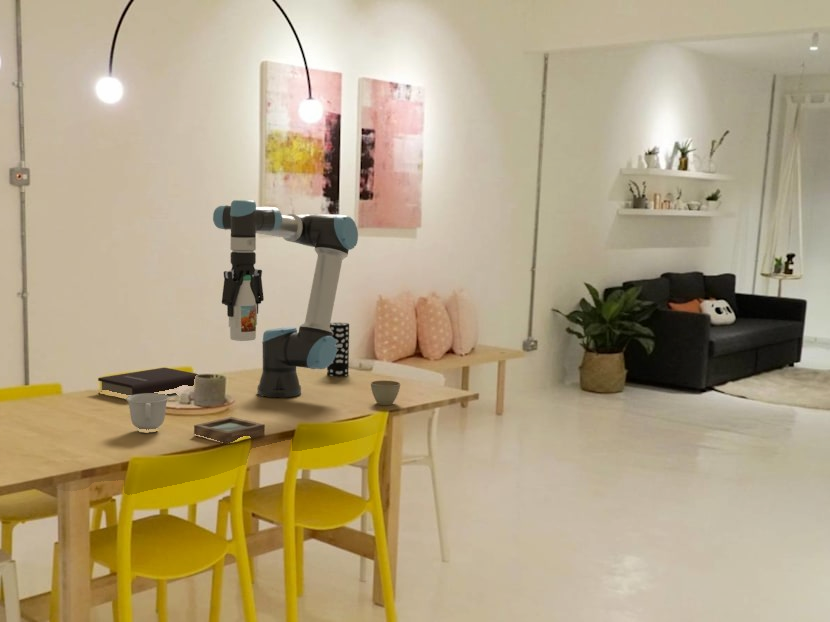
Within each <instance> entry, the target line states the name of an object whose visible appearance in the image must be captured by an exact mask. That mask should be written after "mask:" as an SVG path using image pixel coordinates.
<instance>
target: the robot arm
mask: <svg viewBox="0 0 830 622" xmlns="http://www.w3.org/2000/svg"><path fill="white" fill-rule="evenodd" d="M212 214H213V216H212V221H213V224H214V226H215V227H217V229H220V230H225V231H226V230H227V231H228V230H230V251H231V252H230V264H231V269H230V270H228V271H226V270H225V271H223V279H224V280H223V286H222V287H223V289H222V297H221V298H222V299H221V304H222V305H224V306H226V307H227V317H228V328H230V327H232V328H237V306H234V305H235V302H236V299H237V295H238V292H239V289H240V286H241V285H242V283H243V277H244V276H245V275H250V276H251V282H250V287H251V290H252V292H253V294H254V297H255V302H256V326H257V325H258V314H259V305H261V304H262V302H263V301H264V291H263V289H264V288H263V281H262V275H263V270H262V269H257V268H255V265H256V262H257V259H256V257H257V256H256V255H257V254H256V252H254V251H256V248H257V247H256V246H257V245H256V242H257V239H256V235H257V234H258V235H265V236H271V237H279V238H282V239H283V240H284V241H287V242H290V243H295V244H299V245H302V246H306V247H312V248H314V252H315V253H316V254H317V259H316V264H315V268H314V274H313V278H312V279H313V280H312V286H311V289H310V294H309V299H308V303H307V309H306V315H305V320H304V323H302V324H300V325H299V327H298V328H299V329H298V330H297V327H294V326H293V327H292V326H291V327H289V326H288V327H277V328H271V329H270V328H269V329H267V330H265V331H264V332H263V334H262V335H263V336H262V341H261V343H262V373H261V375H260V379H259V384H258V385H257V393H258V394H260V395H263V396H262V397H264V396H268V397H267V398H272V397H279V398H280V399H283V398H284V399H285V397H286V398H293V397H298V396H300V395H301V394H302V386H301V385H300V381H299V378H298V374H297V368H298V367H299V368H304V369H305V368H306V369H310V370H325V369H327V367H328V366H329V365H330V364H331V363H332V362H333V360H334V358H335V356H336V353H337V345H336V344H337V343H336V340H335V339H334V338H333V337H332V335H333V332H332V330H331V329H330V323H332V322H331V321H332V317H333V310H334V305H335V301H336V295H337V289H338V284H339V279H340V275H341V269H342V265H343V264H342V263H343V260H344V259H345V258H347V257H348V256H349V251H351V250H353V249H355V247H356V246H357V244H358V240H359V231H358V226H357V224H356V221H354V219H353V218H352V217H351V216H349V215H345V214H343V215H342V214H340V213H338V214H325V213H322V214H318V213H312V214H311V213H310V214H309V213H308V214H306V213H305V214H294V213H290V214H289V213H288V214H287V215H283V214H282V213H281V211H280V210H279V209H278V207H274V206H273V207H272V206H257V205H256V202H255V201H254V200H249V199H248V200H243V199H241V200H239V199H235V200H232V201H231V204H230V205H227V204H226V205H218V206H217V207H216V208H215V209H214V211H213V213H212ZM237 281H238V282H237ZM258 394H257V395H258ZM260 395H259V396H260ZM279 398H278V399H279Z"/></svg>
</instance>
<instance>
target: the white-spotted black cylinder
mask: <svg viewBox="0 0 830 622" xmlns="http://www.w3.org/2000/svg"><path fill="white" fill-rule="evenodd" d="M330 329H331V330H332V332H333V335H332V337H333V338H334V339H335V340H336V343H337V344H336V345H337V353H336V356H335V358H334V360H333V362H332V363H331V364H330V365H329V366H328V367H327V368H326V370H327V371H326V375H327V376H329V377H332V378H333V377H335V378H336V377H337V378H338V377H347V376H349V367H350V366H349V361H350V360H349V359H350V358H349V355H350V352H349V351H350V323H349V322H330Z"/></svg>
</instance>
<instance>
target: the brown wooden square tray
mask: <svg viewBox="0 0 830 622" xmlns="http://www.w3.org/2000/svg"><path fill="white" fill-rule="evenodd" d="M193 429H194V431H193V435H194V434H196V435H200V436H204V437H207V438H211V439H214V440H217V441H220V442H223V443H225V444H224V445H226V444H228V443H230V442H233V441H235V440H237V439H238V438H240V437H243V436H250V437H251V439H256V438H260V437H264V436H265V433H266V432H265V424H264V423H260V422H255V421H250V420H246V419H242V418H238V417H232V416H230V417H225V418H220V419H217V420H213V421H206V422H203V423H198V424H194V425H193ZM251 439H250V440H251ZM223 443H222V444H223Z"/></svg>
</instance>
